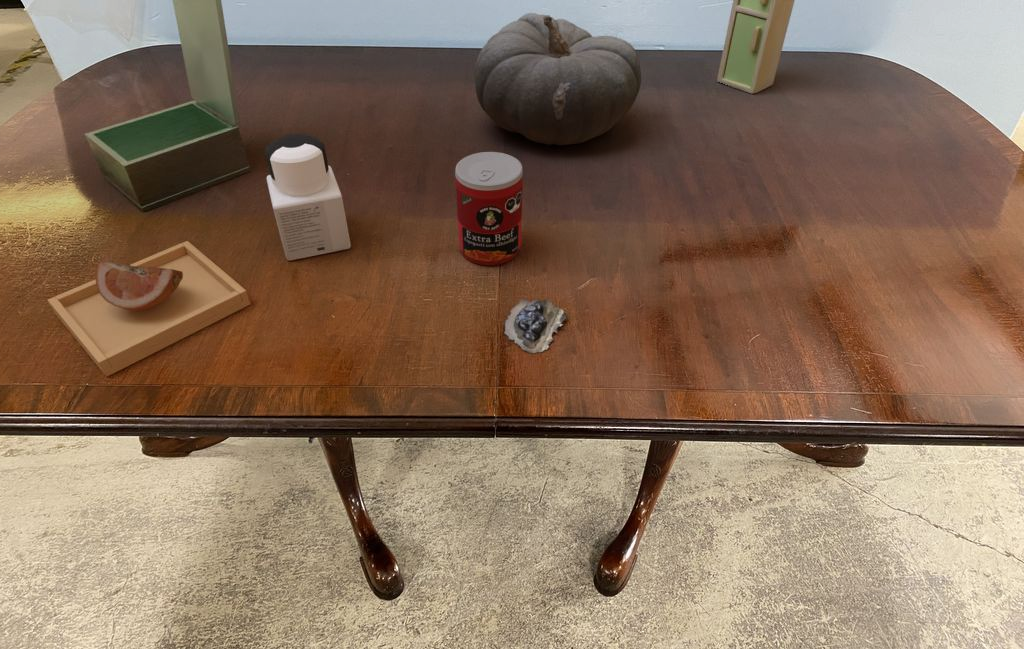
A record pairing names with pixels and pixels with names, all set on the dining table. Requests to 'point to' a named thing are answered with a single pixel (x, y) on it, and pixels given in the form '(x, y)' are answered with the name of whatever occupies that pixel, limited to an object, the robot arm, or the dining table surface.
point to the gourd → (556, 80)
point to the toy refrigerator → (754, 43)
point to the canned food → (489, 207)
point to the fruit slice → (135, 285)
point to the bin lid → (207, 55)
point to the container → (305, 197)
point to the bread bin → (169, 154)
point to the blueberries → (533, 324)
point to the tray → (150, 310)
